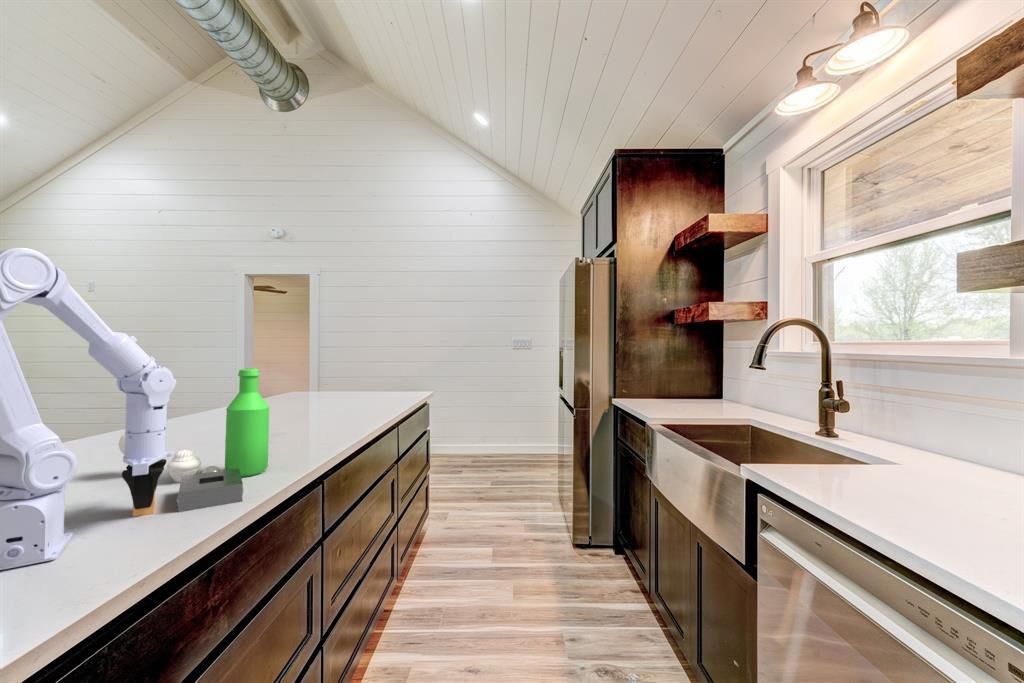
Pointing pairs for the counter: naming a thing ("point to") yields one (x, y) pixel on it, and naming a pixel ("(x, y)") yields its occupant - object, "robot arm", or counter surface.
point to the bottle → (247, 428)
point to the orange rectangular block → (145, 509)
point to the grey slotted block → (210, 489)
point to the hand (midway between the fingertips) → (144, 504)
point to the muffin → (183, 465)
